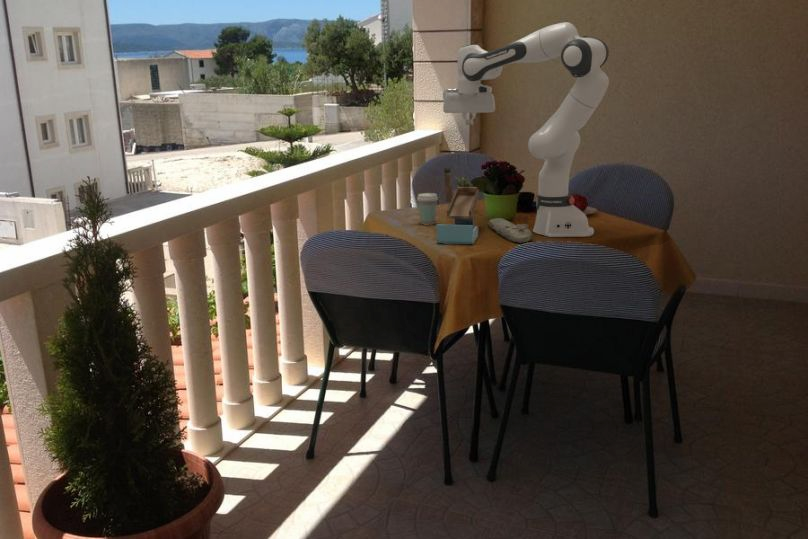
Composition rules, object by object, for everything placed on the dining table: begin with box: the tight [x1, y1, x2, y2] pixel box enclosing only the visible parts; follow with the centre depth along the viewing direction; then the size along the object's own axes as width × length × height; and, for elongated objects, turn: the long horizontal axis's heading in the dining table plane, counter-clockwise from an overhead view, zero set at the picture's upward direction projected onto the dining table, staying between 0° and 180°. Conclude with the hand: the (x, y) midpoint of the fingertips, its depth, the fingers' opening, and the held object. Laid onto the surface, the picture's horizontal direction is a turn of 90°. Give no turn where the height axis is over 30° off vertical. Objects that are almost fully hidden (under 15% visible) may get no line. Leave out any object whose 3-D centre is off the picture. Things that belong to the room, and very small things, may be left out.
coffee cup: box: [416, 192, 439, 225], centre depth 295 cm, size 8×8×12 cm
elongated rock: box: [487, 217, 533, 244], centre depth 276 cm, size 35×5×10 cm
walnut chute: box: [443, 166, 480, 219], centre depth 275 cm, size 12×20×18 cm, turn 166°
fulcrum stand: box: [454, 213, 475, 226], centre depth 280 cm, size 10×6×9 cm, turn 76°
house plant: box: [452, 176, 474, 194], centre depth 316 cm, size 14×14×16 cm
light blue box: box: [435, 223, 479, 245], centre depth 267 cm, size 13×13×7 cm
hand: (469, 124), depth 288 cm, fingers closed
